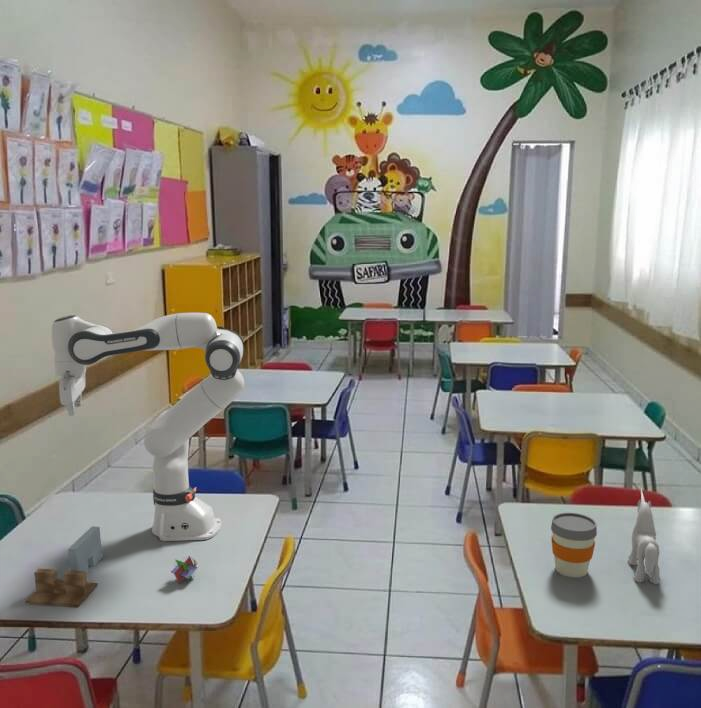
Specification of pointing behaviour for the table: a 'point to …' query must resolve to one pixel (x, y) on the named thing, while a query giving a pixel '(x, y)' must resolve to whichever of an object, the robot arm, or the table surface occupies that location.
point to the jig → (61, 588)
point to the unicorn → (645, 544)
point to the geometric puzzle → (184, 569)
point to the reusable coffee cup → (573, 543)
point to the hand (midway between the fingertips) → (75, 410)
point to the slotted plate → (86, 550)
